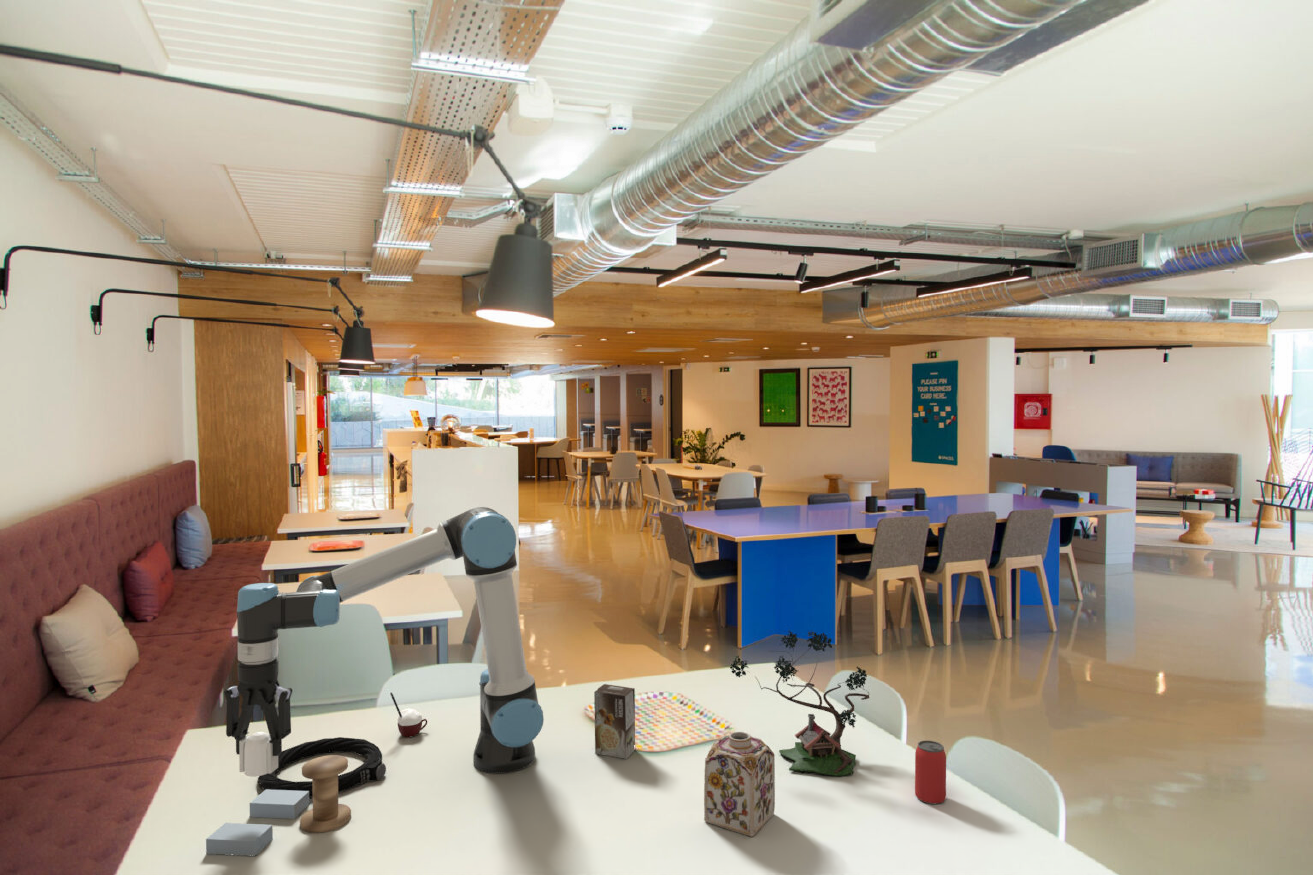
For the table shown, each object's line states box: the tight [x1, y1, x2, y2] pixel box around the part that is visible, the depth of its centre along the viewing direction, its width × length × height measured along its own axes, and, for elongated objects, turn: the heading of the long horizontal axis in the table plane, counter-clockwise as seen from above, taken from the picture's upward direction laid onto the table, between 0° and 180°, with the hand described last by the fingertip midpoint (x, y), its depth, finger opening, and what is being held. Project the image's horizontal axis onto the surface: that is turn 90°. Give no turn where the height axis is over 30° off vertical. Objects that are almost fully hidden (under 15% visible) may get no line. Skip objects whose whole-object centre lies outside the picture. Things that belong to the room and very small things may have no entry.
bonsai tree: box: [729, 630, 870, 777], centre depth 193 cm, size 35×24×32 cm
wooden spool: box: [299, 754, 352, 834], centre depth 163 cm, size 10×10×12 cm
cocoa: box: [390, 692, 428, 738], centre depth 207 cm, size 10×6×12 cm, turn 97°
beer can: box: [914, 740, 947, 805], centre depth 172 cm, size 7×7×12 cm
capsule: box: [243, 731, 271, 778], centre depth 159 cm, size 5×5×8 cm
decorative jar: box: [703, 731, 776, 838], centre depth 164 cm, size 12×12×18 cm
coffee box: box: [593, 683, 636, 759], centre depth 196 cm, size 9×6×16 cm
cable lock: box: [257, 736, 387, 798], centre depth 185 cm, size 28×4×30 cm
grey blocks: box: [205, 789, 310, 857], centre depth 160 cm, size 10×20×3 cm, turn 175°
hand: (259, 769), depth 159 cm, fingers closed on capsule, 5 cm apart
